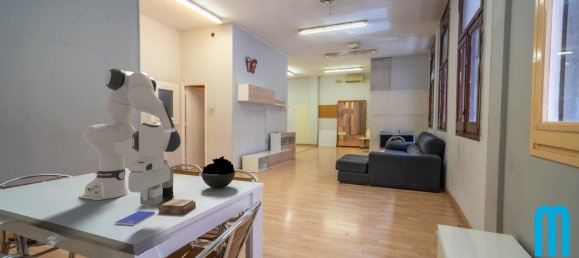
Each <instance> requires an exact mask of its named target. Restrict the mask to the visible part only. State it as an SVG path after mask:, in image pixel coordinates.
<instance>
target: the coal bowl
mask: <svg viewBox="0 0 579 258" xmlns="http://www.w3.org/2000/svg"><path fill="white" fill-rule="evenodd" d="M200 174H201V178H202V180H203V182H204V183H205V184H206V185H207V186H208V187H209V188H212V189H216V190H217V189H223V188H225V187H227V186H229V185H230V184H231V183H232V181H233V180H234V179H235V176H236V170H235V167H234V164H233V163H232V161H231V160H228V159H227V158H225V156H224V155H222V156H220V157H218V158H217V157H216V158H213V159H212V163H209V164H207V165H205V166H204V167H203V169H202V171H201V173H200Z"/></svg>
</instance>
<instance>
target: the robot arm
mask: <svg viewBox="0 0 579 258" xmlns="http://www.w3.org/2000/svg"><path fill="white" fill-rule="evenodd" d="M104 79H105V85H106V87H107V88H108V89H110V90H111V91H110V94H109V96H108V100H107V102H106V107H105V109H104V110H105V114H106V115H107V116H108V117H109V118H110V119H112V120H111V123H97V124H93V125H92V124H91V125H88V126H86V127H85V129H84V130H83V133H82V135H83V140H84V141H85V143H87V145H88V144H89V145H90V146H91V147H92V148H94V150H95V151H96V154H97V156H98V163H99V165H98V166H99V169H98V171H96V172H94V175H96V177H95V178H93V179H92V180H90V182H88V183H87V184H86V185H85V187H84V193H81V194H80V195H78V198H80V199H86V200H93V201H101V200H102V201H103V200H108V199H115V198H120V197H123V196H126V195H128V194H129V192H130V193H141V194H142V196H143V200H148V199H149V195H148V194H147V191H148V188H151V187H154V186H161V187H162V183H164V182H167V181H169V180H170V169H171V168H170V164H169V161H167V159H165V153H174V152H175V151H176V150H177V149H178V148H180V146H181V136H180V133H179V131H178V130H177V128H176V126H175V124H174V121H173V119H172V117H171V115H170V112H169V110H168V107H167V105H166V104H165V102H164V101H162V100H160V99H159V97H158V96H157V95H156V93H155V92H156V90H157V81H156V80H155V79H154V78H153V77H150V75H148V74H147V73H145V72H143V71H135V72H132V71H129V70H123V69H120V68H111V69H109V70H108V71H107V73H106V74H105V78H104ZM133 108H134V109H135V110H137V111H139V112H141V113H146V114H149V115H153V116H155V117H157V119H158V120H159V121H160V122H158V121H157V122H156V121H146V122H142V123H141V124H140V126H139V130H136V128H135V127H134V126H133V125H132V123H131V112H132V109H133ZM129 142H132V145H131V148H132V149H133V150H134V151H136V152H138V153H139V154H138V158H137V159H136V161H134V162H132V163H131V164H130V165H128V171H130V172H129V175H128V179H127V180H128V183H127V184H128V187H127V184H126V177H125V176H126V168H125V156H124V154H123V152H121V151H119V150H117V149H116V147H115V145H117V144H118V145H119V144H126V143H129ZM164 152H165V153H164ZM127 188H128V189H127Z"/></svg>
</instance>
